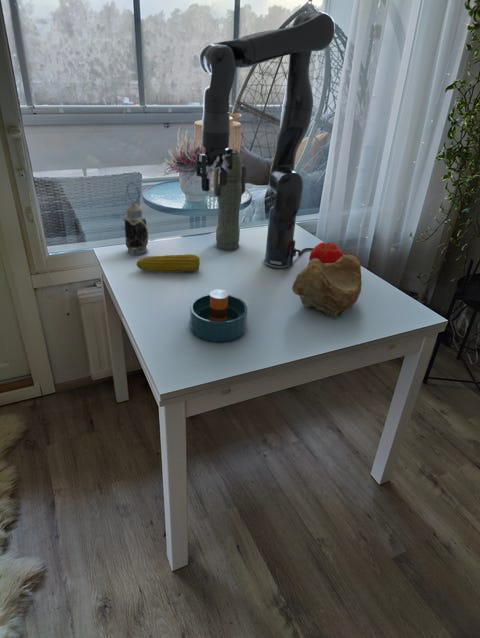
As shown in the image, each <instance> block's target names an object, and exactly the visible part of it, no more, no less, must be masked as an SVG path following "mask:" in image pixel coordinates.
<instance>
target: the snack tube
mask: <svg viewBox="0 0 480 638" xmlns="http://www.w3.org/2000/svg"><path fill="white" fill-rule="evenodd" d="M209 294H210V312H209V314H210V321H220V322H222V321H227V314H228V296H229V295H230V294H229V292H228V291H226V290H224V289H213V290H211V291H210V292H209Z"/></svg>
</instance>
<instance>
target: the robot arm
mask: <svg viewBox="0 0 480 638" xmlns="http://www.w3.org/2000/svg"><path fill="white" fill-rule="evenodd" d="M335 32H336V25H335V21H334V19H333V17H332V16H330V14H328V13H326V12H322V11H302V12H301V13H299V14H298V15H297V16H296V17H295V19H294V20H293V23H292V26H289V27H284V28H278V29H271V30H270V29H269V30H265V31H259V32H255V33H251V34H248V35H245V36H241V37H239V38H235V39H231V40H225V41H219V42H213V43H210V44H208V45H206V46H205V47H203V48H202V50H201V52H200V54H199V57H198V58H199V59H198V61H199V62H198V63H199V67H200V69H202V71H203V72H204V73H205V74H207V75H209V76H210V81H209V86H207V87H205V89H204V91H203V112H202V120H201V121H202V122H201V123H202V124H201V125H202V126H201V128H202V129H201V130H202V131H201V132H202V137H201V138H202V139H201V146H202V147H203V149H204V154H203V153H197V155H196V170H195V171H196V173H195V174H196V176H197V177H200V178H201V190H202V192H210V187H211V186H210V183H211V181H210V180H211V179H210V177H211V175H212V173H214V171H215V168H217V167H219V180H218V184H220V185H222V186H225V185H227V173H228V172H229V170H231V169H232V157H233V150H234V149H232V148H229V147H230V127H231V119H230V105H231V104H230V103H231V99H230V96H231V92H232V88H233V84H234V81H235V76H236V70H237V69H245V68H250V67H254V66H257V65H260V64H262V63H266V62H269V61H273V60H276V59H279V58H281V57H285V56H288V67H287V76H286V81H285V89H284V96H283V102H282V106H281V112H280V121H279V129H278V133H277V141H276V146H275V147H276V148H275V153H274V157H273V161H272V165H271V169H270V173H269V178H268V185H269V188H270V190H271V191H272V192H273V193H274V194H275V200H274V205H272V206H271V207H270V208H269V212H268V222H267V224H268V225H267V236H266V248H265V255H264V256H265V257H264V264H265V265H266V266H267V267H270V268H274V269H286V268H289V267H291V266H293V264H294V263H293V262H294V257H296V255H297V253H298V256H301V255H303V253H304V252H305V251H312V250H313V249H314V248H315V247H305V248H303V249H302V250H300V249H297V248H296V240H295V239H294V237H295V230H296V222H297V215H298V213H299V211H300V208H301V204H302V203H301V202H302V197H303V190H304V180H303V178H302V177H303V176H302V175H301V174H299V172H297V171H295V163H296V158H297V157H296V156H297V153H298V150H299V149H300V145H301V143H302V142H303V140H304V139H305V137H306V134H307V133H308V131H309V128H310V125H311V122H312V121H311V119H312V115H313V110H314V95H313V88H312V84H311V78H310V65H311V64H310V63H311V58H312V53H313V52H320V51H324V50H325V49H327V48H328V47H329V46H330V45H331V43H332V41H333V40H334V36H335ZM227 161H229V165H228V164H227ZM220 171H221V172H220ZM327 243H328V244H330V242H327Z"/></svg>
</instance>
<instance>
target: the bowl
mask: <svg viewBox="0 0 480 638" xmlns="http://www.w3.org/2000/svg"><path fill="white" fill-rule="evenodd" d="M189 311H190V312H189V313H190V319H189V320H190V322H189V323H190V329H191V332H192V333H193V334H195V336H197V337H199V338H200V339H203V340H206V341H210V342H219V343H220V342H229V341H230V342H231V341H232V340H236V339H238V338H240V337H241V336H242V335H244V333H245V332H246V330H247V319H248V306H247V303H246V302H245V301H244V300H243V299H241V298H239V297H237V296H235V295H231V294H229V296H228V314H227V321H222V322H220V321H210V314H209V312H210V293H209V294H205V295H201V296H199V297H197V298H195V299H194V300H193V301H192V302H191V304H190V307H189Z"/></svg>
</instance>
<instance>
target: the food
mask: <svg viewBox="0 0 480 638" xmlns="http://www.w3.org/2000/svg"><path fill="white" fill-rule="evenodd" d="M200 264H201V263H200V257H199V256H197V255H195V254H171V255H170V254H169V255H153V256H145V257H143V258H140V259H139V260H137V261H136V267H137V268H138V269H139V270H142V271H143V272H155V273H156V272H157V273H176V272H177V273H184V272H185V273H186V272H196V271H199V270H200Z"/></svg>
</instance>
